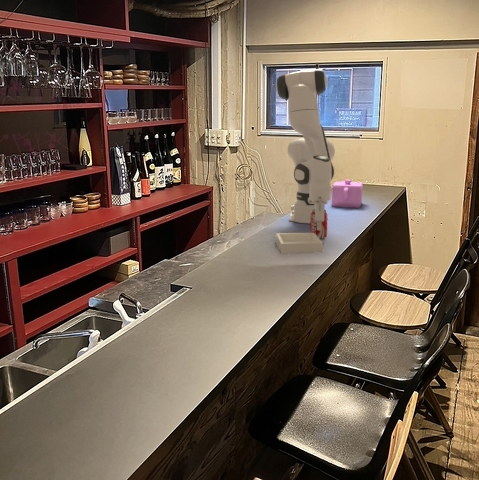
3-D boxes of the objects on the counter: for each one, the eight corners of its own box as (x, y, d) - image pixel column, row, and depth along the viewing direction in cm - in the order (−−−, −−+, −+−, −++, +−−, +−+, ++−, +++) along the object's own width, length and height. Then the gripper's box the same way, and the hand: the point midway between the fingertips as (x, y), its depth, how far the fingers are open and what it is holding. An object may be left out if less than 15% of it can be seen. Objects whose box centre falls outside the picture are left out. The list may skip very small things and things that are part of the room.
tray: (275, 242, 220) (275, 233, 219) (313, 241, 221) (314, 232, 220) (281, 253, 205) (281, 243, 204) (322, 252, 206) (322, 242, 205)
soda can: (326, 240, 222) (327, 212, 219) (309, 239, 224) (310, 211, 221) (327, 236, 229) (327, 208, 226) (310, 235, 230) (311, 208, 227)
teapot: (362, 201, 306) (363, 176, 302) (359, 209, 283) (360, 183, 279) (335, 199, 310) (336, 175, 307) (330, 208, 287) (331, 182, 283)
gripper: (328, 200, 211) (326, 233, 215) (327, 191, 231) (325, 222, 234) (312, 199, 212) (311, 233, 216) (312, 191, 231) (311, 222, 235)
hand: (318, 227), depth 225 cm, fingers closed on soda can, 7 cm apart
